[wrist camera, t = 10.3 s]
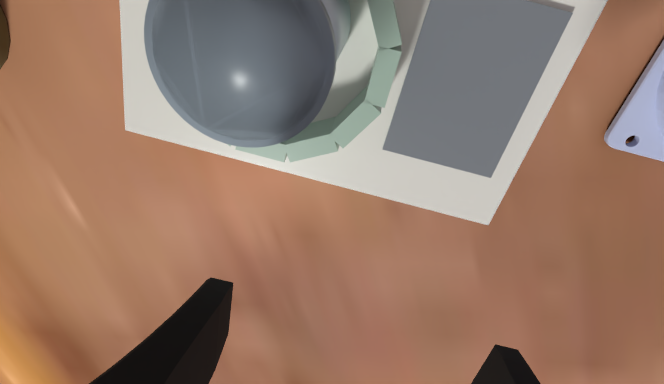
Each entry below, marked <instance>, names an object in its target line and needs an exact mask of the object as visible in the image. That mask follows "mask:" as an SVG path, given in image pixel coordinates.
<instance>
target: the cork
mask: <svg viewBox="0 0 664 384" xmlns="http://www.w3.org/2000/svg"><path fill="white" fill-rule="evenodd" d="M9 45H10V37H9V31H8V25H7V20H6V17H5V15H4V13H3V10H2V8H1V6H0V69H1V67H2V66H3V64H4V63H5V61H6V60H7V58H8V52H9Z"/></svg>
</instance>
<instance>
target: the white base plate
mask: <svg viewBox="0 0 664 384" xmlns="http://www.w3.org/2000/svg"><path fill="white" fill-rule="evenodd" d="M607 1H608V0H348V2H349V6H350V13H351V24H350V31H349V36H348V39H347V42H346V44H345V46H344V48H343V50H342V52H341V54H340V56H339V58H338V60H337V62H336V71H335V75H334V80H333V84H332V86H331V89H330V92H329V94H328V96H327V99H326V101H325V103H324V105H323V106H322V108H321V110H320V112H319V113H318V114H317V116H316V117H315V119H314V120H313V121H312V122H311V123H310V124H309V125H308V126H307V127H306V128H305V129H304V130H302V131H301V132H300V133H298V134H297V135H295V136H294V137H292V138H290V139H288V140H286V141H284V142H281V143H279V144H275V145H271V146H266V147H258V148H251V147H239V146H233V145H229V144H225V143H222V142H220V141H217V140H214V139H212V138H210V137H208V136H206V135H204V134H203V133H201V132H199V131H198V130H196V129H195V128H193V127H192V126H191V125H190V124H188V123H187V122H186V121H185V120H183V119H182V118H181V117H180V116H179V115H178V114H177V113H176V112H175V110H174V109H173V108H172V107H171V106H170V104H169V103H168V102H167V100H166V99H165V97H164V96H163V94H162V93H161V91H160V90H159V88H158V86H157V84H156V82H155V80H154V78H153V75H152V72H151V70H150V67H149V64H148V60H147V56H146V50H145V43H144V22H145V14H146V10H147V6H148V2H149V0H120V21H121V44H122V67H123V90H124V113H125V130H127V131H131V132H134V133H138V134H142V135H146V136H150V137H153V138H157V139H161V140H165V141H169V142H173V143H176V144H180V145H184V146H188V147H192V148H195V149H199V150H203V151H207V152H211V153H215V154H218V155H222V156H226V157H230V158H234V159H237V160H241V161H245V162H249V163H253V164H256V165H260V166H264V167H268V168H272V169H276V170H279V171H283V172H287V173H291V174H295V175H298V176H302V177H306V178H310V179H314V180H318V181H321V182H325V183H329V184H333V185H337V186H340V187H344V188H348V189H352V190H356V191H359V192H363V193H367V194H371V195H375V196H379V197H382V198H386V199H390V200H394V201H398V202H401V203H405V204H409V205H413V206H417V207H420V208H424V209H428V210H432V211H436V212H440V213H443V214H447V215H451V216H455V217H459V218H462V219H466V220H470V221H474V222H478V223H482V224H485V225H489V223H490V221H491V219H492V217H493V215H494V214H495V212H496V210H497V208H498V206H499V204H500V202H501V200H502V199H503V197H504V195H505V193H506V191H507V189H508V187H509V185H510V183H511V182H512V180H513V178H514V176H515V174H516V172H517V170H518V168H519V166H520V165H521V163H522V161H523V159H524V157H525V155H526V153H527V151H528V149H529V148H530V146H531V144H532V142H533V140H534V138H535V136H536V134H537V133H538V131H539V129H540V127H541V125H542V123H543V121H544V119H545V117H546V116H547V114H548V112H549V110H550V108H551V106H552V104H553V102H554V100H555V99H556V97H557V95H558V93H559V91H560V89H561V87H562V85H563V84H564V82H565V80H566V78H567V76H568V74H569V72H570V70H571V68H572V67H573V65H574V63H575V61H576V59H577V57H578V55H579V53H580V51H581V50H582V48H583V46H584V44H585V42H586V40H587V38H588V36H589V35H590V33H591V31H592V29H593V27H594V25H595V23H596V21H597V19H598V18H599V16H600V14H601V12H602V10H603V8H604V6H605V4H606V2H607Z"/></svg>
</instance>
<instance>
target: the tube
mask: <svg viewBox="0 0 664 384" xmlns="http://www.w3.org/2000/svg"><path fill="white" fill-rule="evenodd" d="M350 24H351V13H350V6H349V2H348V0H149V2H148V6H147V10H146V14H145V22H144V43H145V50H146V56H147V60H148V64H149V67H150V70H151V72H152V75H153V78H154V80H155V82H156V84H157V86H158V88H159V90H160V91H161V93H162V94H163V96H164V97H165V99H166V100H167V102H168V103H169V104H170V106H171V107H172V108H173V109H174V110H175V112H176V113H177V114H178V115H179V116H180V117H181V118H182V119H183V120H185V121H186V122H187V123H188V124H190V125H191V126H192V127H193V128H195V129H196V130H198V131H199V132H201V133H203V134H204V135H206V136H208V137H210V138H212V139H214V140H217V141H220V142H222V143H225V144H229V145H233V146H239V147H251V148H258V147H266V146H271V145H275V144H279V143H281V142H284V141H286V140H288V139H290V138H292V137H294V136H295V135H297V134H298V133H300V132H301V131H302V130H304V129H305V128H306V127H307V126H308V125H309V124H310V123H311V122H312V121H313V120H314V119H315V117H316V116H317V114H318V113H319V112H320V110H321V108H322V106H323V105H324V103H325V101H326V99H327V96H328V94H329V92H330V89H331V86H332V84H333V80H334V75H335V71H336V62H337V60H338V58H339V56H340V54H341V52H342V50H343V48H344V46H345V44H346V42H347V39H348V36H349V31H350Z"/></svg>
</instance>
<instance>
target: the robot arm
mask: <svg viewBox="0 0 664 384" xmlns="http://www.w3.org/2000/svg"><path fill="white" fill-rule="evenodd" d="M630 136H635V137H634V140H633V141H631V142H629V143H625V142H626V139H627V138H629V137H630ZM604 140H605V142H606V143H607V144H608V145H609V146H610V147H612V148H614V149H618V150H622V151H626V152H630V153H633V154H637V155H641V156H645V157H649V158H652V159H656V160H660V161H664V40H663V42H662V43H661V45H660V46H659V48H658V50H657V51H656V53H655V54H654V56H653V58H652V59H651V61H650V62H649V64H648V66H647V67H646V69H645V70H644V72H643V74H642V75H641V77H640V78H639V80H638V82H637V83H636V85H635V86H634V88H633V90H632V91H631V93H630V94H629V96H628V98H627V99H626V101H625V102H624V104H623V106H622V107H621V109H620V110H619V112H618V114H617V115H616V117H615V118H614V120H613V122H612V123H611V125H610V126H609V128H608V130H607V131H606V133H605V136H604ZM232 291H233V283H232V282H228V281H223V280H219V279H215V278H210V279H208V280H206V281H205V282H204V284H203V285H202V286H201V287H200V288H199V289H198V290H197V291H196V292H195V293H194V294H193V295H192V296H191V297H190V298H189V299H188V300H187V301H186V302H185V303H184V304H183V305H182V306H181V307H180V308H179V309H178V310H177V311H176V312H175V313H174V314H173V315H172V316H171V317H169V318H168V319H167V320H166V321H165V322H164V323H163V324H162V325H161V326H160V327H158V328H157V329H156V330H155V331H154V332H153V333H152V334H151V335H150V336H148V337H147V338H146V339H145V340H144V341H143V342H141V343H140V344H139V345H138V346H136V347H135V348H134V349H133V350H132V351H130V352H129V353H128V354H127V355H126V356H124V357H123V358H122V359H121V360H119V361H118V362H117V363H116V364H114V365H113V366H112V367H111V368H109V369H108V370H107V371H105V372H104V373H103V374H101V375H100V376H99V377H97V378H96V379H95V380H93V381H92V382H91V383H89V384H209V381H210V379H211V377H212V375H213V373H214V371H215V369H216V366H217V363H218V361H219V358H220V355H221V352H222V350H223V347H224V344H225V341H226V338H227V336H228V331H229V321H230V311H231V301H232ZM471 384H540V382H539V381H538V379H537V378H536V376H535V375H534V373H533V372H532V370H531V369H530V367H529V366H528V364H527V363H526V361H525V360H524V358H523V357H522V355H521V354H520V352H519V351H518V350H516V349H512V348H508V347H504V346H500V345H495V346H494V348H493V349H492V351H491V352H490V354H489V356H488V357H487V359H486V361H485V362H484V364H483V365H482V367H481V369H480V370H479V372H478V373H477V375H476V377H475V378H474V380H473V382H472V383H471Z"/></svg>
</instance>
